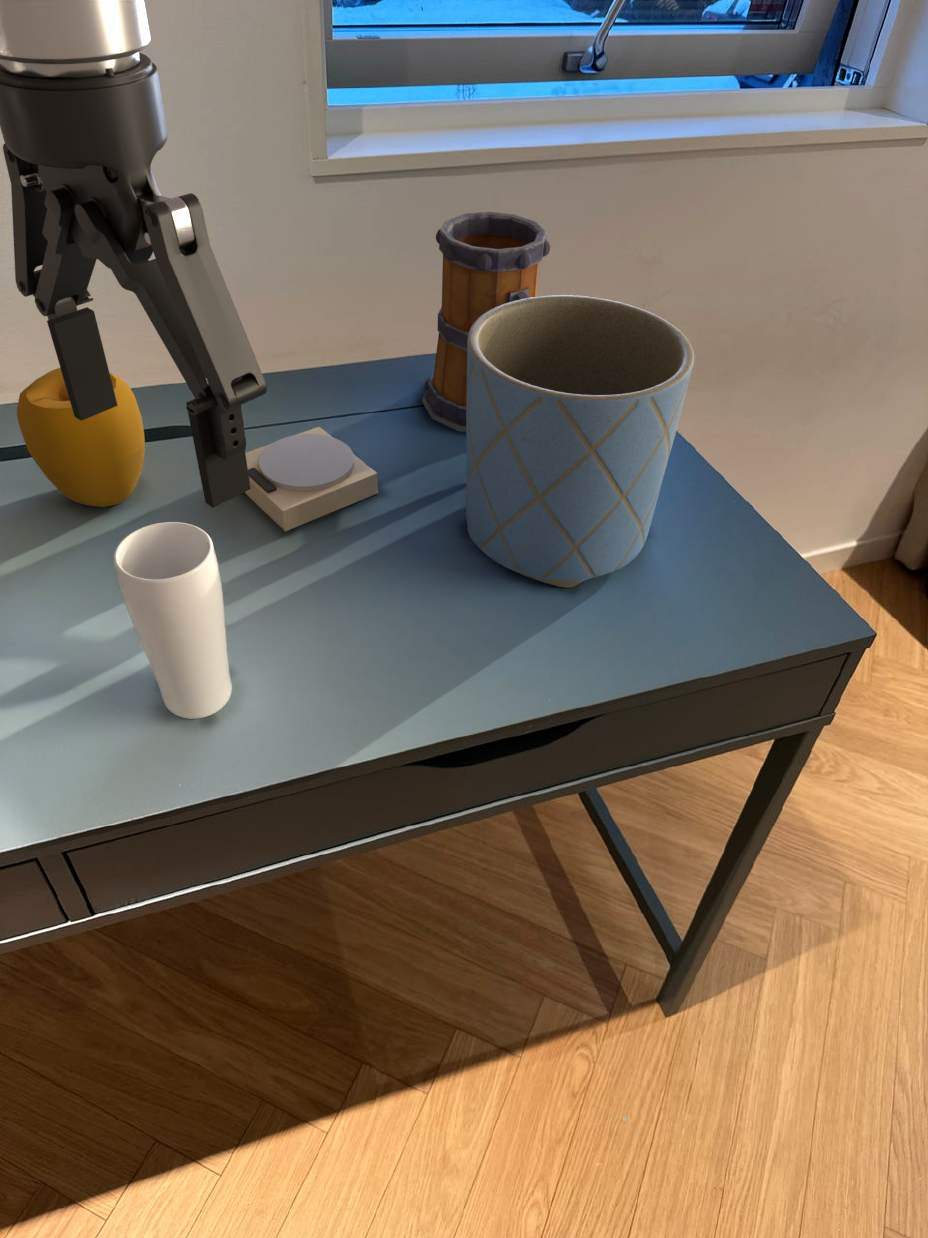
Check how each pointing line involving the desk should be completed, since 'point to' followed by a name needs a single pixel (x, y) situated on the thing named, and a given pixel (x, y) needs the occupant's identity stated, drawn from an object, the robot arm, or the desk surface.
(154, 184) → the robot arm
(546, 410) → the planter
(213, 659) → the drinking glass
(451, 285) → the mug
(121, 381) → the apple
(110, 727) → the desk surface
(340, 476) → the scale
